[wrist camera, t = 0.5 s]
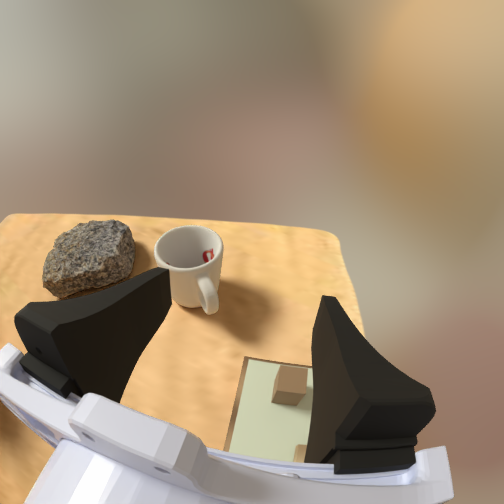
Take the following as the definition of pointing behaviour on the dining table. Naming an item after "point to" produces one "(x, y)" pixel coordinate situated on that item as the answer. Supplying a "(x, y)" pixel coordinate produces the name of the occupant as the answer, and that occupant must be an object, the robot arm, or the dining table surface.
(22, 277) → the dining table surface
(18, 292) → the dining table surface
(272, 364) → the lid
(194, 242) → the cup
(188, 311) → the dining table surface
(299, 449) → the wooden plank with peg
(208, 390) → the dining table surface
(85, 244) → the rock
